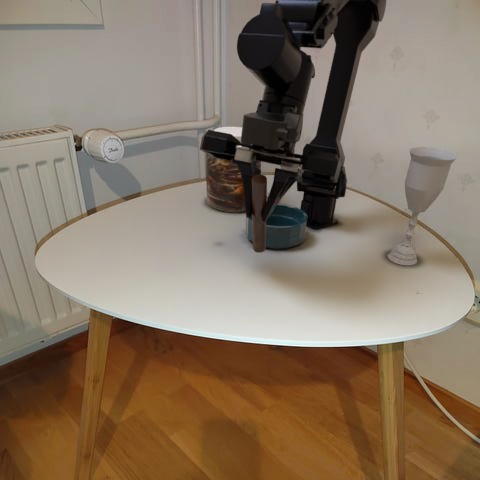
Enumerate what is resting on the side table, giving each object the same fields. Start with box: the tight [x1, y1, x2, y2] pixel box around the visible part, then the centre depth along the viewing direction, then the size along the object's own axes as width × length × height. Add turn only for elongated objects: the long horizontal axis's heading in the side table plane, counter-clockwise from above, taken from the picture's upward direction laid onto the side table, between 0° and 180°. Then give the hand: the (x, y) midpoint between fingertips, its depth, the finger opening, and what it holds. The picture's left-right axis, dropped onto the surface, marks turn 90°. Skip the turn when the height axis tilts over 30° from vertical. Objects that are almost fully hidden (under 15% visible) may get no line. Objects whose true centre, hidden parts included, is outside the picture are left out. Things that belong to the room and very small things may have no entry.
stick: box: [252, 174, 268, 254], centre depth 60 cm, size 2×2×13 cm
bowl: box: [245, 203, 308, 250], centre depth 79 cm, size 11×11×4 cm
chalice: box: [387, 146, 458, 266], centre depth 69 cm, size 7×7×18 cm
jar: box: [205, 126, 262, 213], centre depth 89 cm, size 12×12×15 cm
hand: (256, 219), depth 59 cm, fingers closed on stick, 2 cm apart
